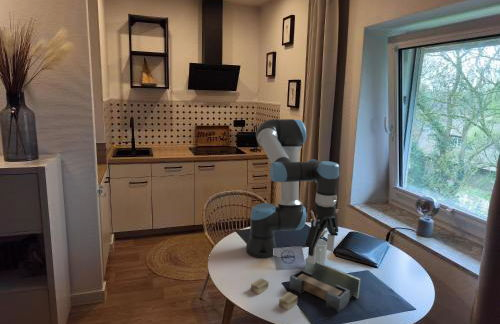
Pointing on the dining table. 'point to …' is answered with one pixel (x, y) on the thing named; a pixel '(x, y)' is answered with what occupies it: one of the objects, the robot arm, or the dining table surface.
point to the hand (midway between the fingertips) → (320, 256)
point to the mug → (321, 251)
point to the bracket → (329, 283)
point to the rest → (284, 301)
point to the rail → (318, 287)
